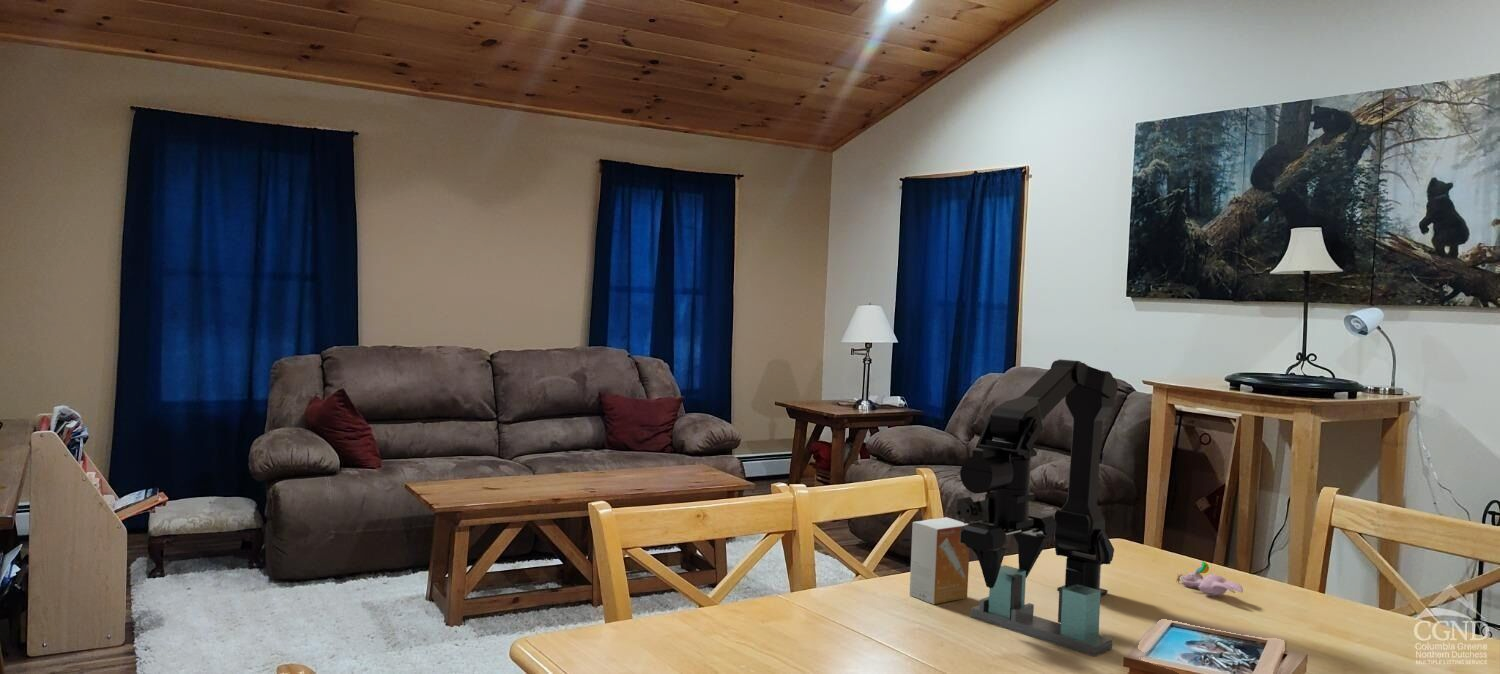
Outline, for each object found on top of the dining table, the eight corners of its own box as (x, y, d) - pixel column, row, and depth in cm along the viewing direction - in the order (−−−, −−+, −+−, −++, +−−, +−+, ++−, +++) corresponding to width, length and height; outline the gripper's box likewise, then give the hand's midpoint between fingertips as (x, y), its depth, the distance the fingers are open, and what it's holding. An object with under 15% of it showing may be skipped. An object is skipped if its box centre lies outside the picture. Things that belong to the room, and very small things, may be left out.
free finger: (1002, 607, 167) (1004, 565, 166) (1027, 614, 163) (1029, 571, 163) (988, 612, 164) (990, 569, 164) (1013, 619, 161) (1014, 575, 160)
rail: (988, 611, 169) (990, 560, 169) (1112, 649, 153) (1114, 593, 153) (970, 617, 166) (972, 565, 166) (1094, 656, 150) (1097, 599, 149)
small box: (934, 605, 172) (937, 529, 171) (908, 595, 177) (911, 521, 176) (968, 598, 176) (971, 523, 175) (942, 588, 181) (945, 516, 181)
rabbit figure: (1169, 591, 189) (1223, 603, 174) (1167, 558, 190) (1221, 567, 175) (1198, 589, 190) (1255, 601, 176) (1197, 557, 191) (1252, 566, 176)
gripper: (1002, 472, 175) (998, 562, 176) (934, 484, 162) (930, 580, 163) (1060, 482, 167) (1055, 577, 167) (992, 496, 154) (988, 597, 155)
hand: (1006, 582), depth 163 cm, fingers open, 9 cm apart
